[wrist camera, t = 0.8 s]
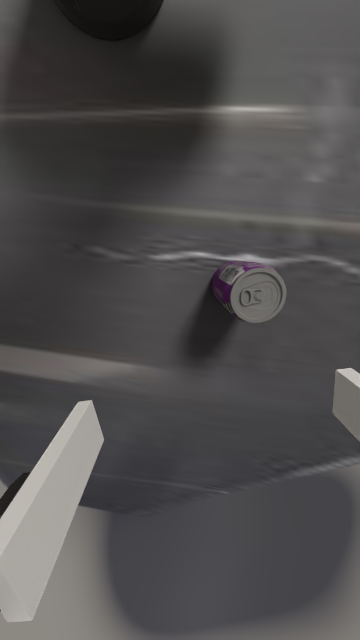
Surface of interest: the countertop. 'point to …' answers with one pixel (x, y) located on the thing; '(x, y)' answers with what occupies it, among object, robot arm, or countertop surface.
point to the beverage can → (249, 290)
